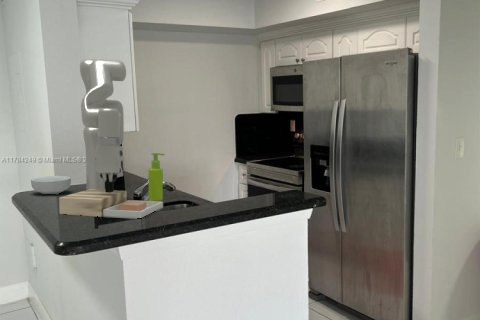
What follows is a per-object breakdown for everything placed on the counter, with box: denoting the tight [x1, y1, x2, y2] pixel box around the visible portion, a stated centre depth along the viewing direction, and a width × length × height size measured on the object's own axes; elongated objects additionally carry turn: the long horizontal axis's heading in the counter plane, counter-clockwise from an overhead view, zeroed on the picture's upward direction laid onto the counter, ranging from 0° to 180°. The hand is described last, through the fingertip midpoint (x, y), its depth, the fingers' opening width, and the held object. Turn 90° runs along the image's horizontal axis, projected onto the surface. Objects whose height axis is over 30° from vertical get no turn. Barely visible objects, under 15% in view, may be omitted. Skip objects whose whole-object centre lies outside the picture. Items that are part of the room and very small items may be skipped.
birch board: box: [58, 189, 128, 218], centre depth 167 cm, size 20×16×6 cm
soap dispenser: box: [148, 152, 166, 202], centre depth 189 cm, size 6×7×20 cm
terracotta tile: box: [120, 200, 146, 211], centre depth 163 cm, size 7×7×3 cm
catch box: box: [102, 199, 164, 220], centre depth 164 cm, size 20×14×2 cm
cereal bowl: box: [30, 175, 72, 195], centre depth 203 cm, size 17×17×7 cm
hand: (109, 191), depth 165 cm, fingers closed
